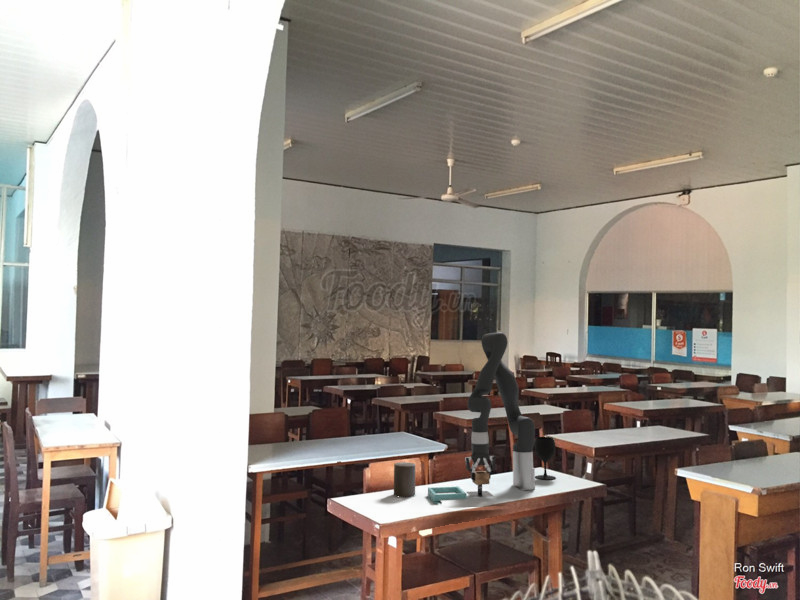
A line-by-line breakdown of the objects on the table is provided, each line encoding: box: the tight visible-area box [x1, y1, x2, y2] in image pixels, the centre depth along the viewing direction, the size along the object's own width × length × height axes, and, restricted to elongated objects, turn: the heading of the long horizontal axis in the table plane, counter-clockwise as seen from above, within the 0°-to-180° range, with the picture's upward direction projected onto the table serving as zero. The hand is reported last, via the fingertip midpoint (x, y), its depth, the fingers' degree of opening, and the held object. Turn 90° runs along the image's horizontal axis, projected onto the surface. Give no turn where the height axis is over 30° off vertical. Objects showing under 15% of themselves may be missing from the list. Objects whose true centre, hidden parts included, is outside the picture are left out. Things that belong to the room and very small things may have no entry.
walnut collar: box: [472, 470, 490, 486], centre depth 281 cm, size 6×6×4 cm
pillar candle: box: [393, 461, 417, 498], centre depth 286 cm, size 10×10×15 cm
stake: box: [466, 484, 494, 498], centre depth 281 cm, size 10×10×7 cm
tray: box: [427, 486, 468, 504], centre depth 279 cm, size 14×14×4 cm
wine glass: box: [533, 436, 557, 481], centre depth 322 cm, size 10×10×20 cm
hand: (480, 480), depth 281 cm, fingers closed on walnut collar, 6 cm apart
